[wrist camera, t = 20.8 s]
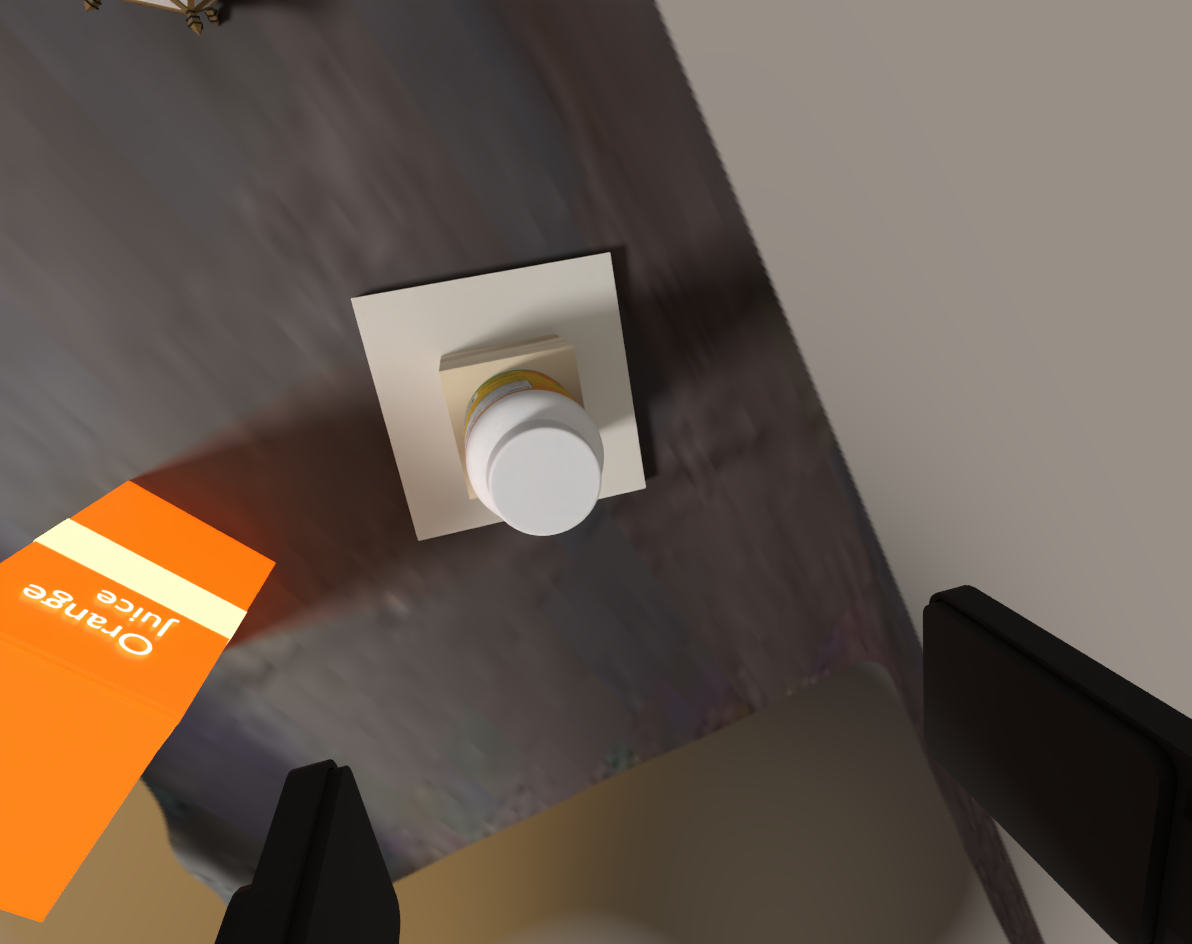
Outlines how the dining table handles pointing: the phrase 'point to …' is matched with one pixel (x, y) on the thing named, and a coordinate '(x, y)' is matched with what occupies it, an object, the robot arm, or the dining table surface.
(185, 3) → the game die
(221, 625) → the orange juice
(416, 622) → the dining table surface
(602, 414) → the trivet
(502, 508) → the supplement bottle
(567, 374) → the beech block
